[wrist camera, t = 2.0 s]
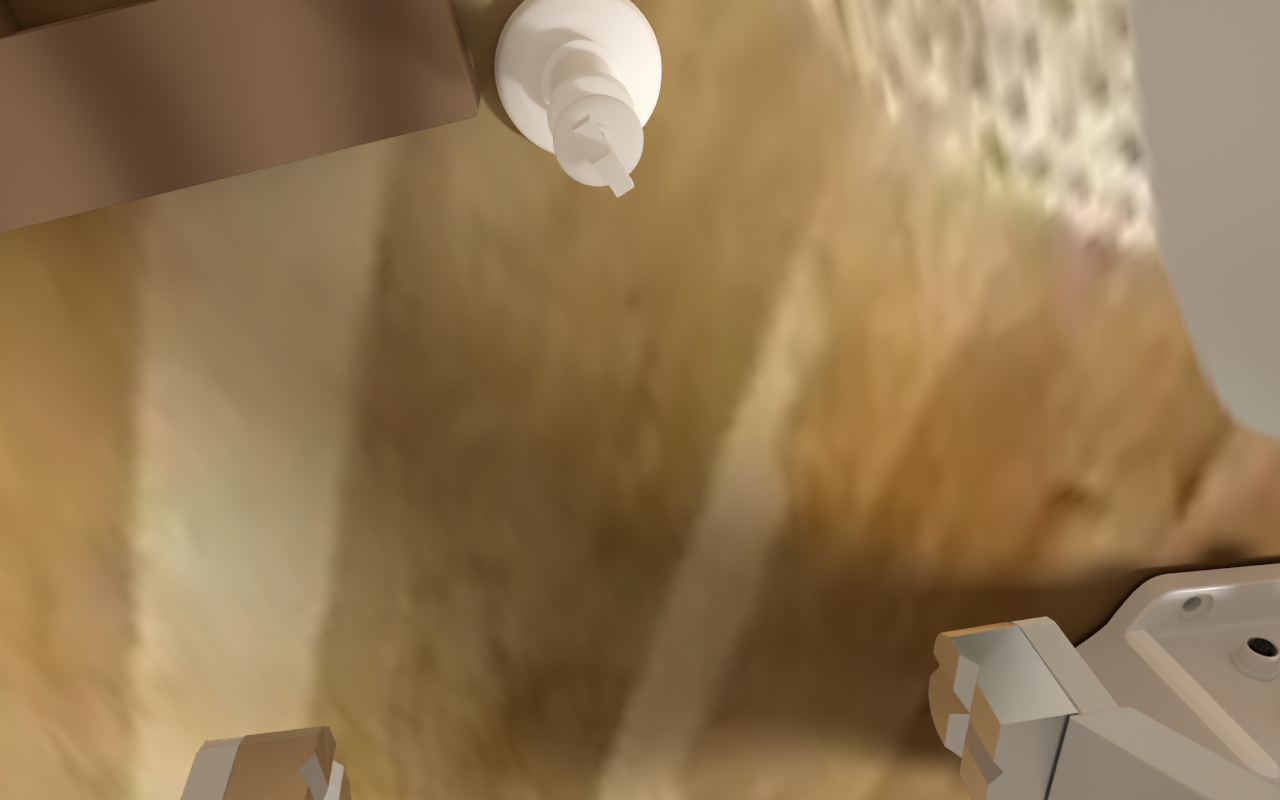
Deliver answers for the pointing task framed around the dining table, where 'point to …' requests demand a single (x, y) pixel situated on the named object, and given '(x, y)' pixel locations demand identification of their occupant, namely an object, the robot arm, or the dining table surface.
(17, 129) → the socket block
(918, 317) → the dining table surface
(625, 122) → the chess piece
